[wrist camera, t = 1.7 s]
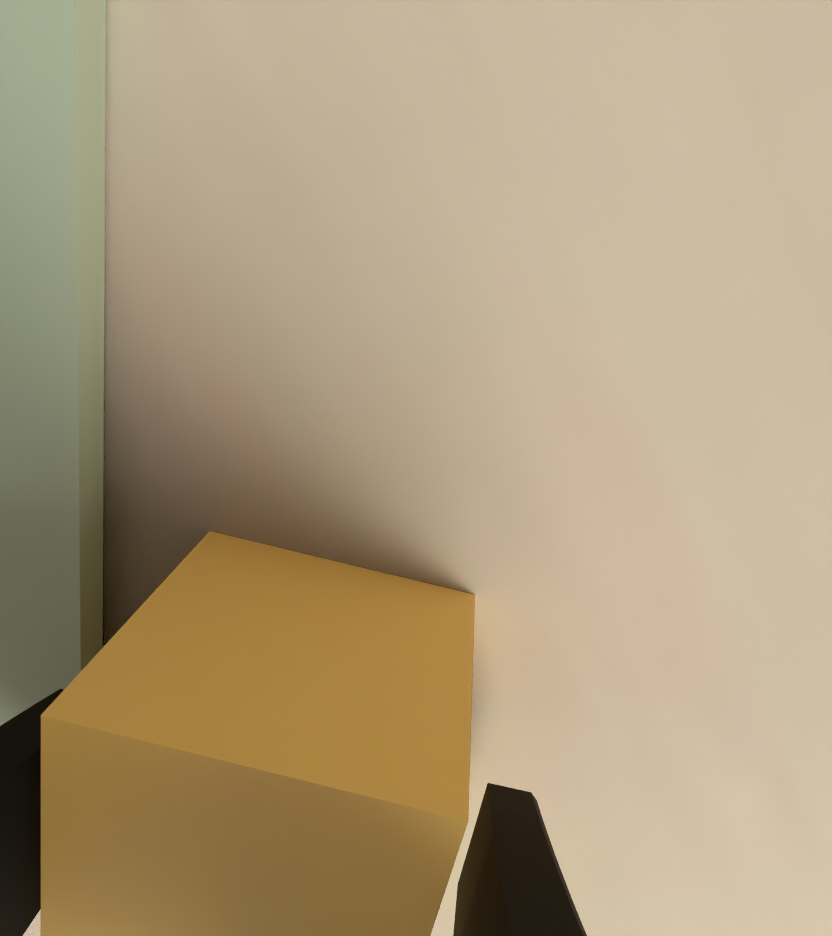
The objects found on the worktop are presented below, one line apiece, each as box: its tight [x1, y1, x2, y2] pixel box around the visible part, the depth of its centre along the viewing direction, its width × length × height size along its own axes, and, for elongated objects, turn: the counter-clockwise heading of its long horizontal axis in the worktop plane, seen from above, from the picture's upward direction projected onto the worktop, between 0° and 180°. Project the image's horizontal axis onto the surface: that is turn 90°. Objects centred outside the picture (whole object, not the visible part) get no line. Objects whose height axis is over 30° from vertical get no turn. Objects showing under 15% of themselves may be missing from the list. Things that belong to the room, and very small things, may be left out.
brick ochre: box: [41, 531, 475, 936], centre depth 9 cm, size 6×4×4 cm, turn 168°
